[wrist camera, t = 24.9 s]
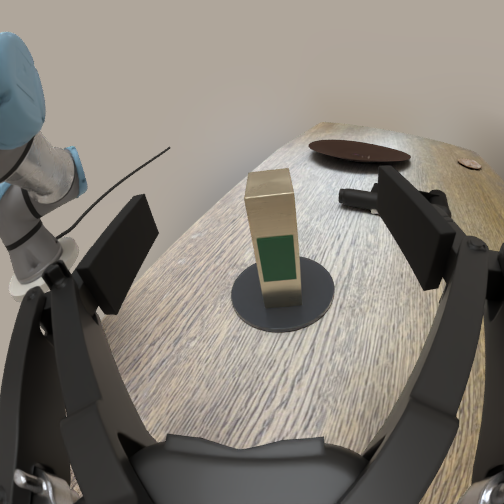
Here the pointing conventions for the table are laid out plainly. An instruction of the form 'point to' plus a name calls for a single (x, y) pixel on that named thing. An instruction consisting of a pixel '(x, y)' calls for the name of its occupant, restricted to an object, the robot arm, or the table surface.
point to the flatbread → (469, 163)
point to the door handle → (370, 198)
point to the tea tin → (274, 236)
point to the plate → (358, 151)
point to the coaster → (290, 317)
